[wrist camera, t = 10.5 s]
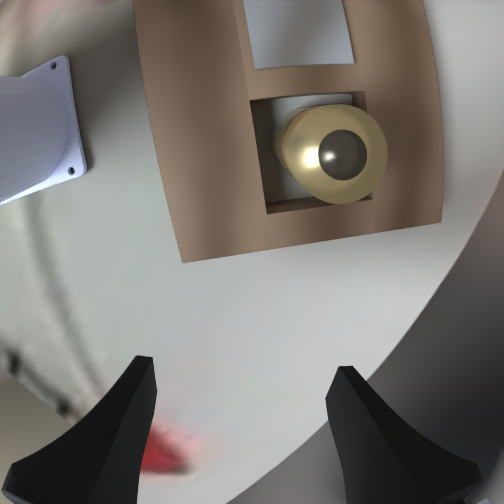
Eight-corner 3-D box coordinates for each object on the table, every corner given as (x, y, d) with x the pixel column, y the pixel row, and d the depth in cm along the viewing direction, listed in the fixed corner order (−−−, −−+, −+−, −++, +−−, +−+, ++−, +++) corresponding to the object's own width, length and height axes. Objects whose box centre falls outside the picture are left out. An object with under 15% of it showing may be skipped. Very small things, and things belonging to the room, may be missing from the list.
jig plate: (187, 248, 19) (181, 265, 17) (141, -1, 12) (130, -14, 10) (425, 212, 19) (443, 224, 17) (399, -15, 12) (416, -26, 10)
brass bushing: (279, 181, 18) (301, 213, 12) (266, 114, 16) (283, 111, 10) (345, 170, 17) (392, 196, 12) (334, 104, 16) (382, 100, 10)
